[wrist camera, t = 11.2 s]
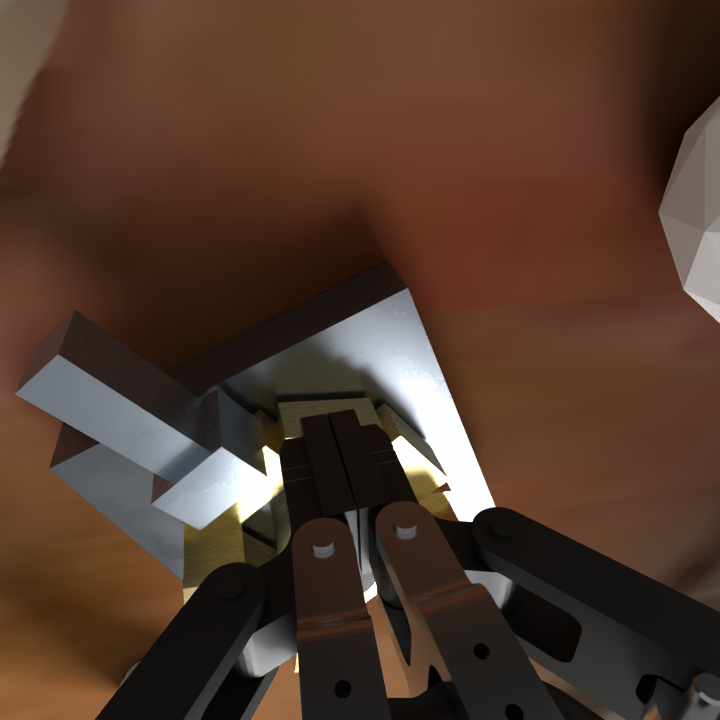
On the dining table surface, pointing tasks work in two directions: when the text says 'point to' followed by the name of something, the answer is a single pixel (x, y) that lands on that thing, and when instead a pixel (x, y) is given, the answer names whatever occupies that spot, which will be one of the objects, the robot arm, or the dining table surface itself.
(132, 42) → the dining table surface
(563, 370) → the dining table surface
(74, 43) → the dining table surface
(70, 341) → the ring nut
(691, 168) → the geodesic sphere
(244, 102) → the dining table surface
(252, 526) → the housing
